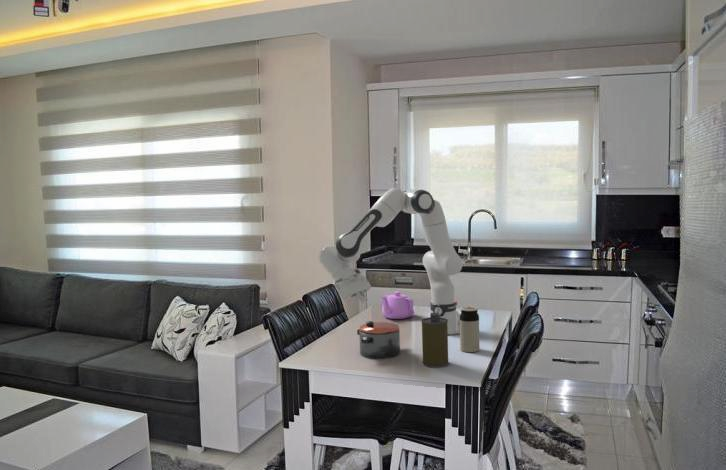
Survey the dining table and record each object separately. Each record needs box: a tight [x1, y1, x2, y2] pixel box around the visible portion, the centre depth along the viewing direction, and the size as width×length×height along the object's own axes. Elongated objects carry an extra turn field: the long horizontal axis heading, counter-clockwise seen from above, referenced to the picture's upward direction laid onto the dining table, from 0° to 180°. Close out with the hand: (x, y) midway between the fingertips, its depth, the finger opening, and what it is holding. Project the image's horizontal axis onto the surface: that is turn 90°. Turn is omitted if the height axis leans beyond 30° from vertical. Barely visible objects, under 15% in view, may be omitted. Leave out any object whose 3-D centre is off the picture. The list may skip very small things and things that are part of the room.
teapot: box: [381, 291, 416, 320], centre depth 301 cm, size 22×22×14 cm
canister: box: [420, 313, 450, 369], centre depth 218 cm, size 11×10×20 cm
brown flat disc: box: [359, 320, 400, 335], centre depth 235 cm, size 17×17×3 cm
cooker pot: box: [356, 328, 401, 360], centre depth 235 cm, size 25×18×10 cm
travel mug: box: [459, 305, 480, 353], centre depth 235 cm, size 8×8×18 cm
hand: (365, 301), depth 237 cm, fingers closed
